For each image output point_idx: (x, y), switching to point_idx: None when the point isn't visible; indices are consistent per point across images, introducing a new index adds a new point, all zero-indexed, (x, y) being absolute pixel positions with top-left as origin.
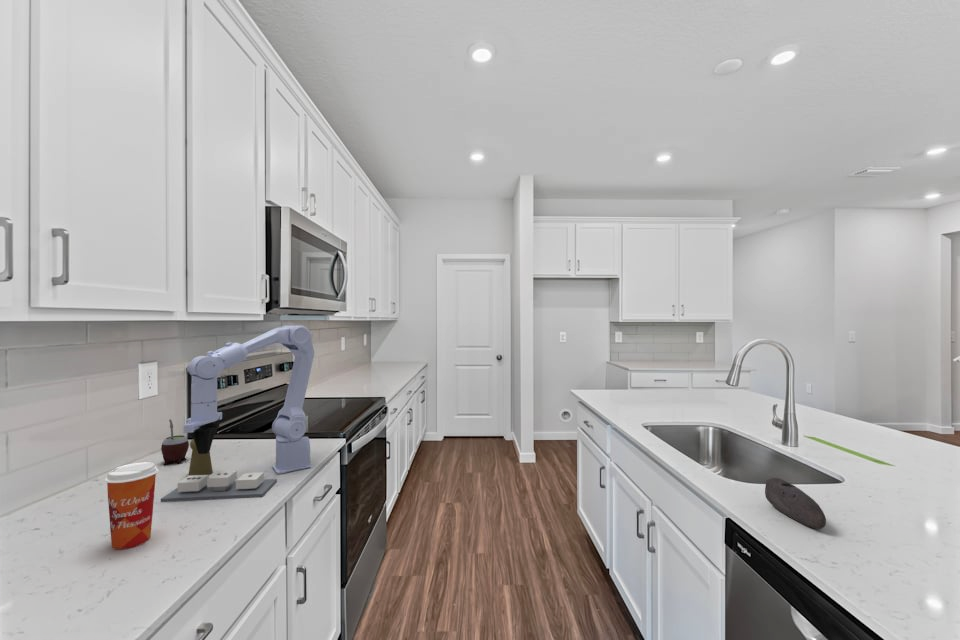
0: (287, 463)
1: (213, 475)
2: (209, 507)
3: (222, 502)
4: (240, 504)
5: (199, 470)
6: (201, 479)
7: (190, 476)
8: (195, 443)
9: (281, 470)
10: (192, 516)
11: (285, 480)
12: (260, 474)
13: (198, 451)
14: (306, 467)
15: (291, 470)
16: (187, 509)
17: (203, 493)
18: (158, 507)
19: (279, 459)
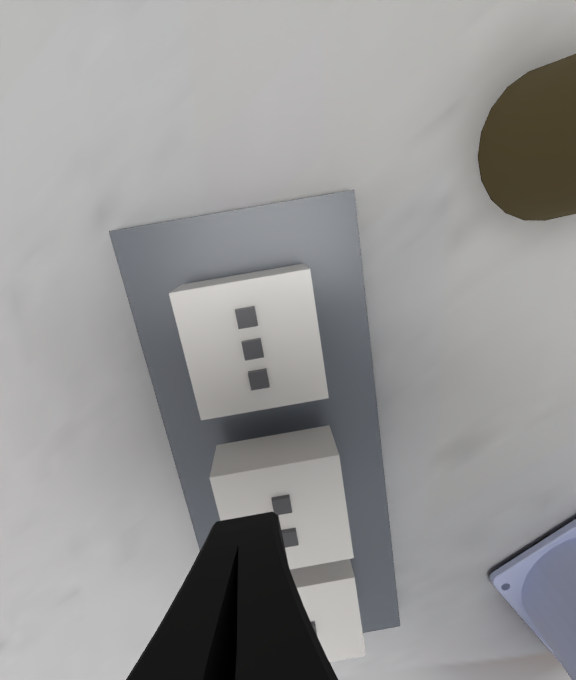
0: (545, 639)
1: (260, 483)
2: (105, 514)
3: (161, 532)
4: (153, 607)
5: (520, 175)
6: (243, 406)
7: (292, 292)
8: (138, 662)
9: (521, 583)
10: (11, 507)
11: (410, 633)
12: (334, 657)
13: (207, 548)
14: (552, 653)
15: (521, 615)
16: (67, 438)
17: (207, 419)
18: (55, 276)
19: (570, 628)
